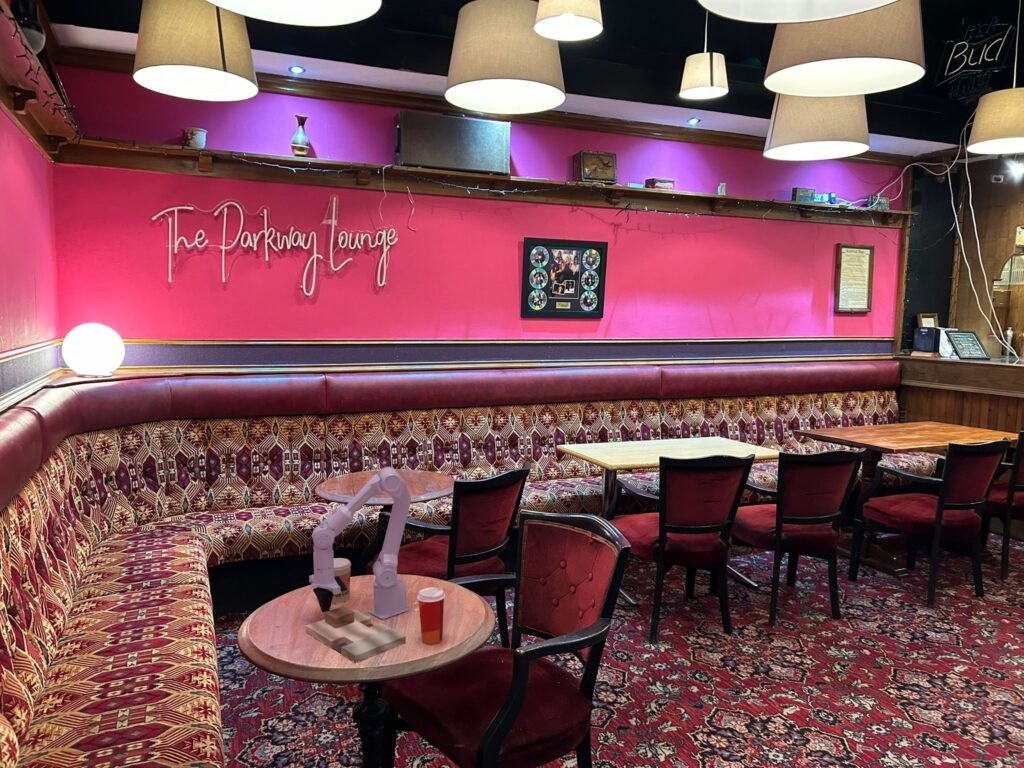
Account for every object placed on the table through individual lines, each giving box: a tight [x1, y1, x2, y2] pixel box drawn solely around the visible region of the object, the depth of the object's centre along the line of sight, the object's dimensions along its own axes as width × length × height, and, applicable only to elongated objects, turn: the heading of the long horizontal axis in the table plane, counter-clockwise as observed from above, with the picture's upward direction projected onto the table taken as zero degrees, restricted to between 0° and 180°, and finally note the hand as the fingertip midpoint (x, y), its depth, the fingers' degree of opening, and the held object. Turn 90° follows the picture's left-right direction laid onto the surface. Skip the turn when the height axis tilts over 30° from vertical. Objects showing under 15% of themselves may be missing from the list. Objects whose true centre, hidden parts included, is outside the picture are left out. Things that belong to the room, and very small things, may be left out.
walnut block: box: [324, 605, 354, 628], centre depth 209 cm, size 6×6×3 cm
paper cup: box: [417, 586, 446, 646], centre depth 200 cm, size 8×8×14 cm
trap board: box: [305, 608, 407, 664], centre depth 203 cm, size 16×26×2 cm, turn 44°
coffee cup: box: [331, 557, 352, 605], centre depth 230 cm, size 9×9×12 cm
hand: (325, 611), depth 214 cm, fingers closed
